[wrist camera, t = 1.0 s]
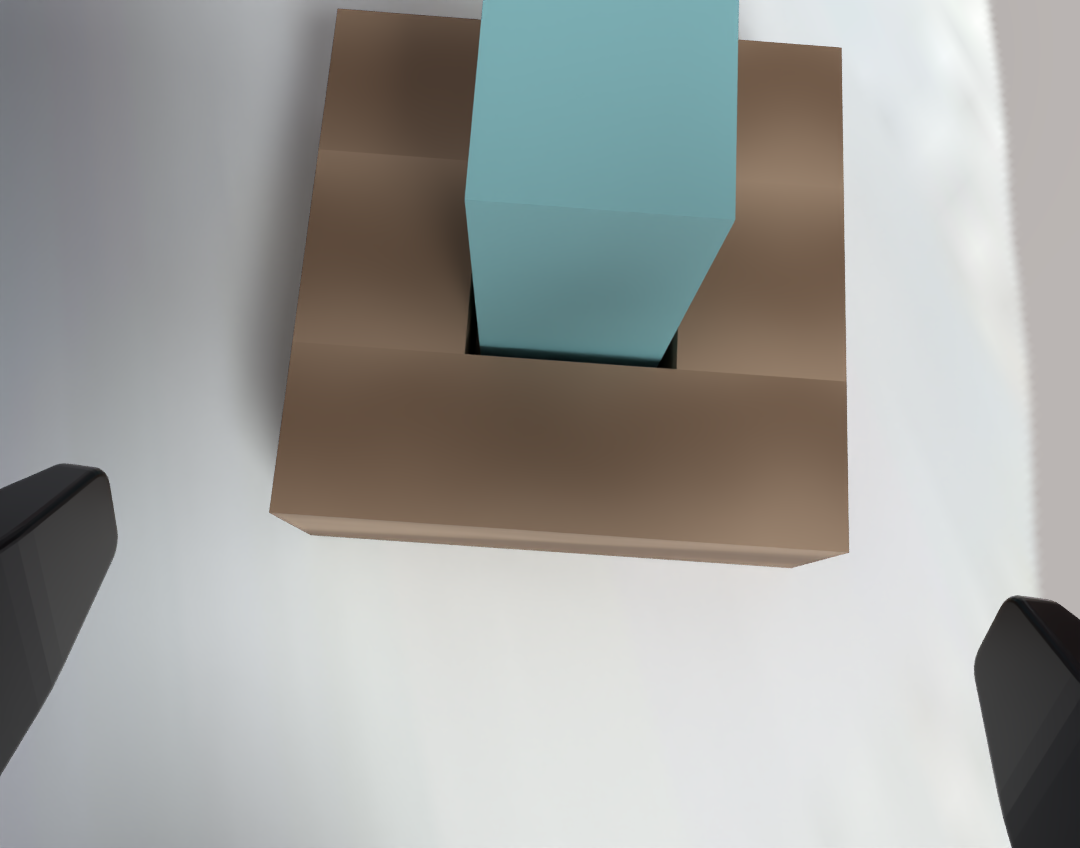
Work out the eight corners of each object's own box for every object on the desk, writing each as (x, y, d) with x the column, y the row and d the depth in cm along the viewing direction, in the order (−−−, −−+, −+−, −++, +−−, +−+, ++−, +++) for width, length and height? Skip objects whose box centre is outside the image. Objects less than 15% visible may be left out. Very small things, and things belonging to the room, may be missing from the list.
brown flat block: (791, 567, 23) (848, 552, 19) (310, 534, 23) (268, 512, 19) (791, 137, 26) (841, 47, 22) (364, 105, 25) (337, 8, 22)
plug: (640, 397, 23) (735, 220, 13) (484, 386, 23) (464, 199, 13) (646, 252, 24) (738, -13, 14) (496, 240, 24) (485, -33, 14)
